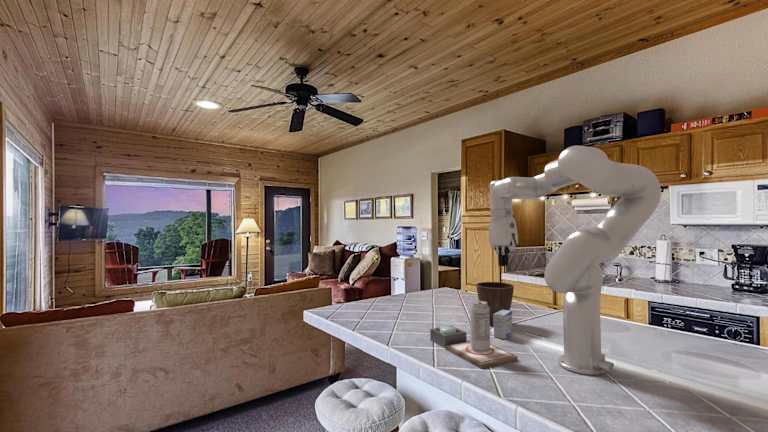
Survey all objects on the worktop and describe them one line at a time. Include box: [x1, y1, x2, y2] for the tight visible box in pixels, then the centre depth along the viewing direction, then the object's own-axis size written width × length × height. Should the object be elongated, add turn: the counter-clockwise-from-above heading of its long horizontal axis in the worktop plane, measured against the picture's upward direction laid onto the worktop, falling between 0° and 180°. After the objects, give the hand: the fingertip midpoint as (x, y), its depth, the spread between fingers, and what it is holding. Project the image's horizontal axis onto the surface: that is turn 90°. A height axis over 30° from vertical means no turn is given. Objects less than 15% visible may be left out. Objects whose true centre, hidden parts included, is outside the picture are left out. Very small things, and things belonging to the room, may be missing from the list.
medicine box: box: [493, 310, 513, 340], centre depth 135 cm, size 8×4×9 cm, turn 143°
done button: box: [439, 325, 457, 334], centre depth 129 cm, size 6×6×3 cm
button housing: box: [429, 325, 468, 348], centre depth 129 cm, size 9×9×4 cm
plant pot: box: [476, 281, 515, 327], centre depth 150 cm, size 15×15×16 cm
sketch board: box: [445, 340, 518, 369], centre depth 117 cm, size 18×14×2 cm
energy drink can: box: [469, 300, 491, 352], centre depth 117 cm, size 6×6×15 cm
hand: (503, 265), depth 131 cm, fingers closed
